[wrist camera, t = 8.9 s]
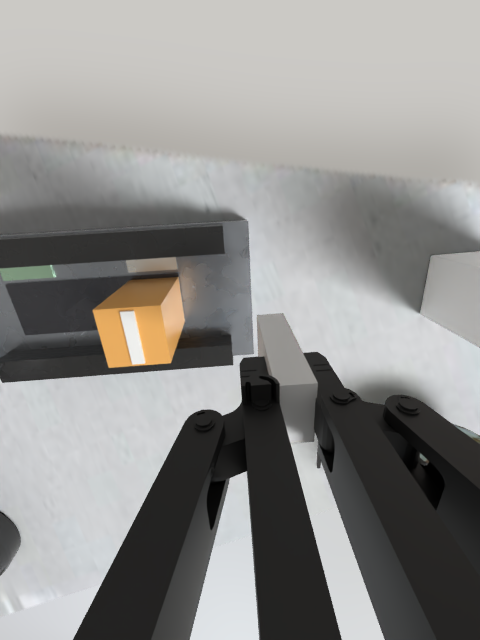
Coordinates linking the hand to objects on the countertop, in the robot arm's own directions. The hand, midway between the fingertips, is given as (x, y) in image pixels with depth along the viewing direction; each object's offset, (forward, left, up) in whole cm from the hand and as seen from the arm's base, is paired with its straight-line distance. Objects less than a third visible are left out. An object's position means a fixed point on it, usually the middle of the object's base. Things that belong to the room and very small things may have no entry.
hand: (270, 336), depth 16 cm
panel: (-12, 0, -11) cm, 16 cm away
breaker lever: (-8, 0, -8) cm, 12 cm away
